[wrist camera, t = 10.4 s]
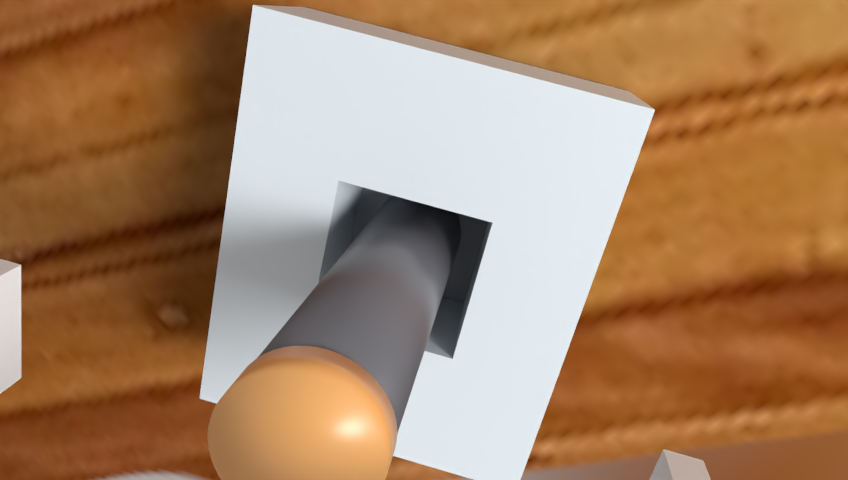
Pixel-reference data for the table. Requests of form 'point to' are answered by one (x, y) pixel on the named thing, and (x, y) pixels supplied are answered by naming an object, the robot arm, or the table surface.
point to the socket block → (432, 185)
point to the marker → (342, 358)
